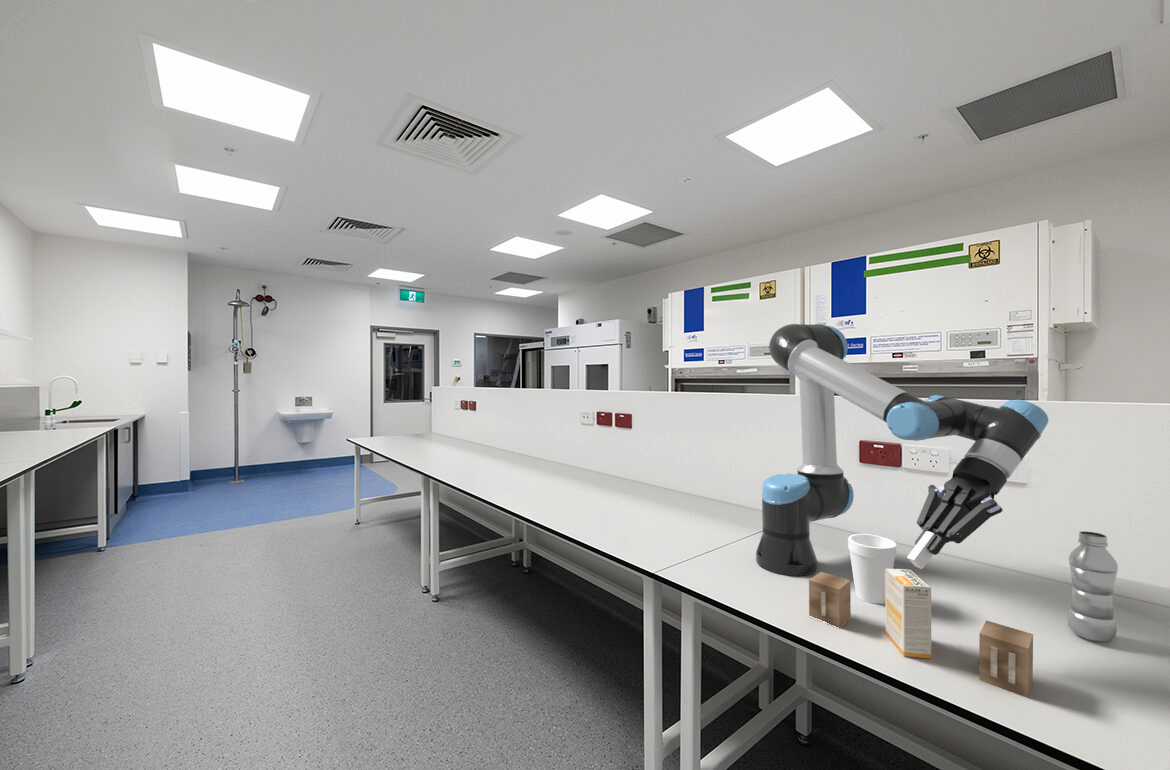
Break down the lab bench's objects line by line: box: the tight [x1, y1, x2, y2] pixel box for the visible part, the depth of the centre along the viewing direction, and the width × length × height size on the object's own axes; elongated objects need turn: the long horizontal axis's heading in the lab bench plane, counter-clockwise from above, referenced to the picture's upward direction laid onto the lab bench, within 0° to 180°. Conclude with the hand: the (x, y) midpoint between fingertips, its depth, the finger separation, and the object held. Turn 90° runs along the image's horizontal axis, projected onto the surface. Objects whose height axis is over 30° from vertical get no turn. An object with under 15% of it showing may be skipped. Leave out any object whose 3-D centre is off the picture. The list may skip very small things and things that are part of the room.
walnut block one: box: [808, 571, 852, 629], centre depth 100 cm, size 6×6×8 cm
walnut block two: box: [978, 620, 1034, 699], centre depth 79 cm, size 6×6×8 cm
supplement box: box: [884, 568, 932, 659], centre depth 89 cm, size 8×5×13 cm, turn 168°
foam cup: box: [847, 533, 897, 605], centre depth 108 cm, size 10×9×13 cm
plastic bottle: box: [1066, 530, 1119, 643], centre depth 91 cm, size 6×7×20 cm
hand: (914, 563), depth 88 cm, fingers closed
